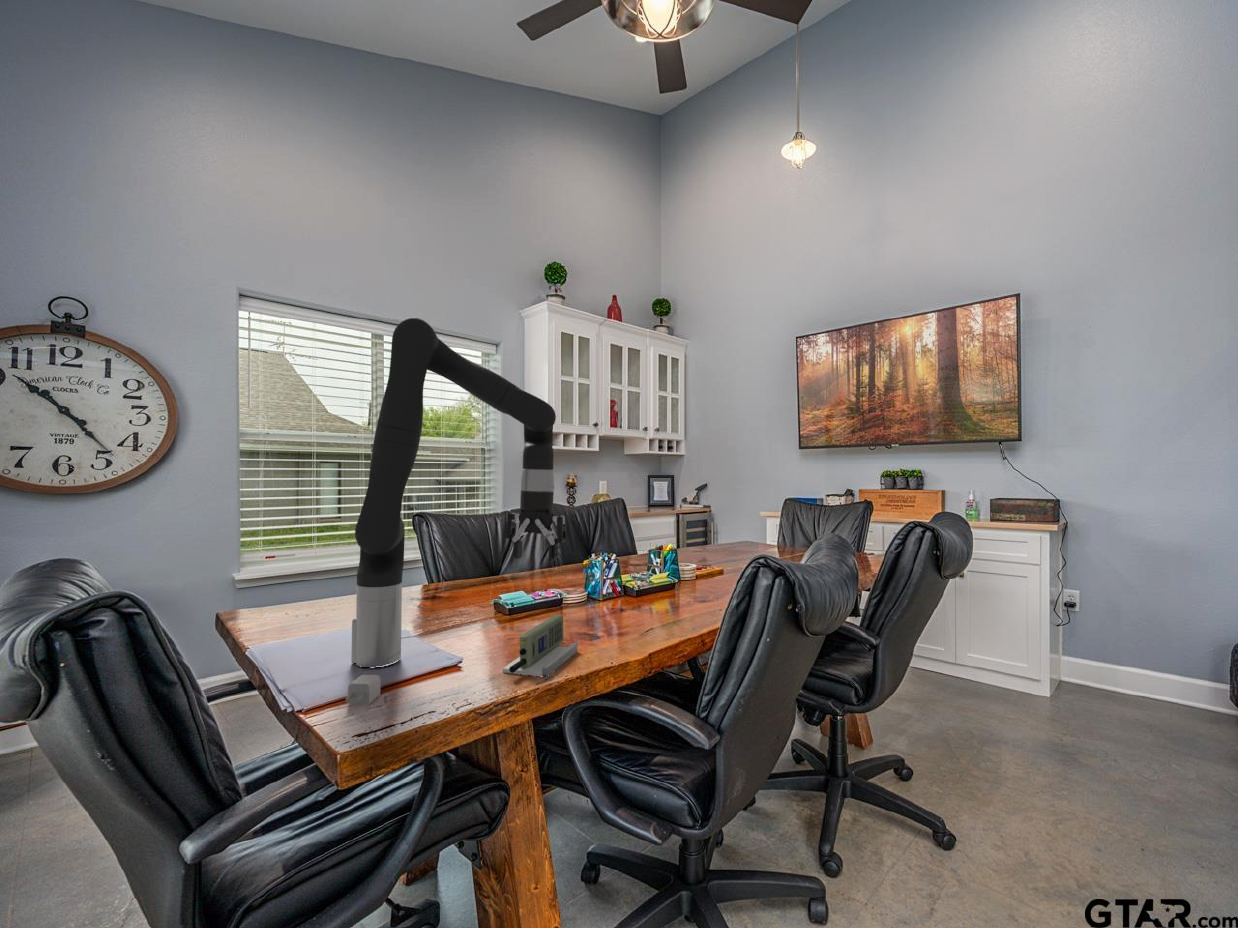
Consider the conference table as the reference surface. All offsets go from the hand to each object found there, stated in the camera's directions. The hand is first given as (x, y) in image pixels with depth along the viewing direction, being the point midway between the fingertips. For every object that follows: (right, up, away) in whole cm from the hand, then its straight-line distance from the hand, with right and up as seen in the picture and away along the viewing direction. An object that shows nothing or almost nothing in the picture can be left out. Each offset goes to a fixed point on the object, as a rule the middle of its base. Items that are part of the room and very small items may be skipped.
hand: (535, 559), depth 135 cm
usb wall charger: (-27, -22, -29) cm, 45 cm away
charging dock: (+2, -22, -5) cm, 22 cm away
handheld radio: (+1, -21, -4) cm, 22 cm away
